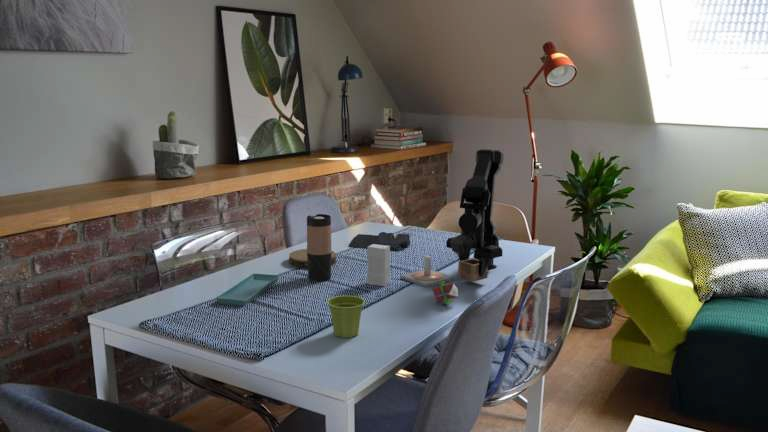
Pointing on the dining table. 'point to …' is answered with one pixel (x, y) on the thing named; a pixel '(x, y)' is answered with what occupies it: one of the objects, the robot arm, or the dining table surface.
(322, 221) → the travel mug
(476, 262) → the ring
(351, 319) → the plant pot
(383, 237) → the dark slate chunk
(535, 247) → the dining table surface
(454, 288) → the geometric puzzle
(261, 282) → the teal serving tray
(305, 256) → the round wooden board
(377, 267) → the skincare box
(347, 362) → the dining table surface
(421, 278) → the beige round peg stand
